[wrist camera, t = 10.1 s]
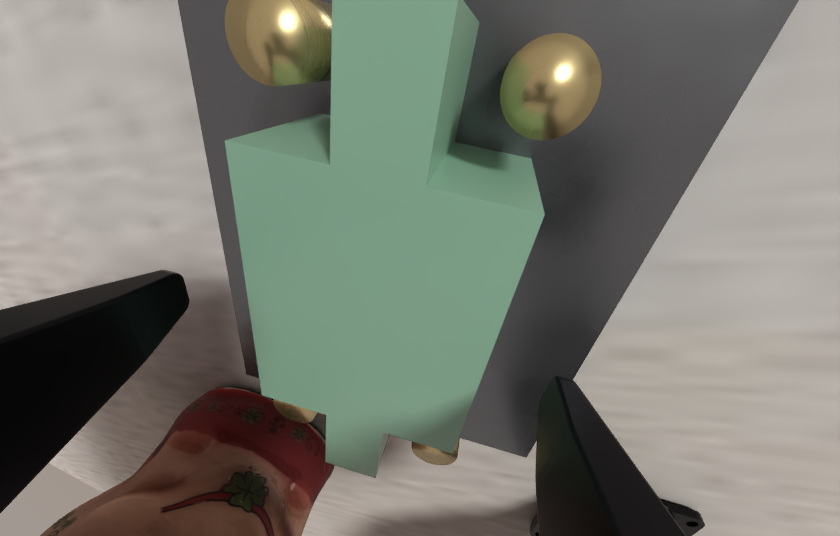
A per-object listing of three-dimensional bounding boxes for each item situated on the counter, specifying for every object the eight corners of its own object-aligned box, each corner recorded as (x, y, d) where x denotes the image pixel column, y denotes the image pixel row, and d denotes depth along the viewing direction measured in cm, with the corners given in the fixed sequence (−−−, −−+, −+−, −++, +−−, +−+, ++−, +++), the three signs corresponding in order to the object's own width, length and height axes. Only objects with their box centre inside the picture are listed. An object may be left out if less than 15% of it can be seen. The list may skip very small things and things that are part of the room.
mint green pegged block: (570, 38, 8) (619, 21, 4) (451, 398, 15) (435, 497, 11) (321, -6, 8) (196, -52, 5) (321, 360, 15) (268, 443, 12)
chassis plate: (803, -69, 7) (1099, -198, 4) (525, 433, 17) (530, 532, 13) (188, -149, 8) (-40, -299, 5) (261, 356, 18) (201, 428, 15)
